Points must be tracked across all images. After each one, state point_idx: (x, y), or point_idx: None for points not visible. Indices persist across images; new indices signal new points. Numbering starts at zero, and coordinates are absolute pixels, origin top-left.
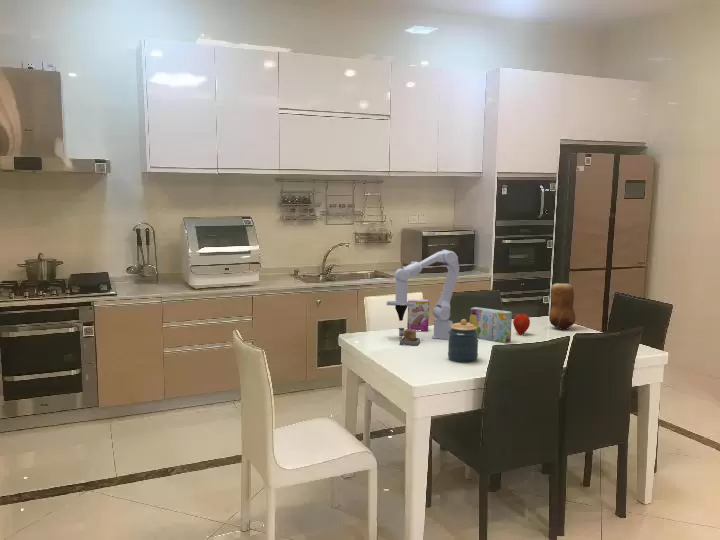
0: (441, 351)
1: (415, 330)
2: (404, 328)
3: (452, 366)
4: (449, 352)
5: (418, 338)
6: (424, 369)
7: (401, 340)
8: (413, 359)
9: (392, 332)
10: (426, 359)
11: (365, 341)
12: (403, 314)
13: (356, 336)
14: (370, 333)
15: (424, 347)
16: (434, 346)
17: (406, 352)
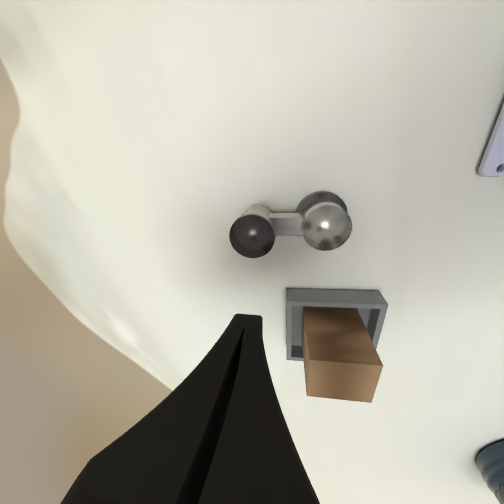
0: (469, 400)
1: (378, 375)
2: (273, 232)
3: (468, 493)
4: (496, 496)
5: (377, 308)
6: (387, 499)
7: (293, 357)
8: (357, 457)
9: (150, 68)
10: (396, 458)
11: (146, 323)
12: (261, 368)
13: (63, 257)
14: (63, 168)
15: (398, 363)
16: (451, 345)
17: (329, 415)
